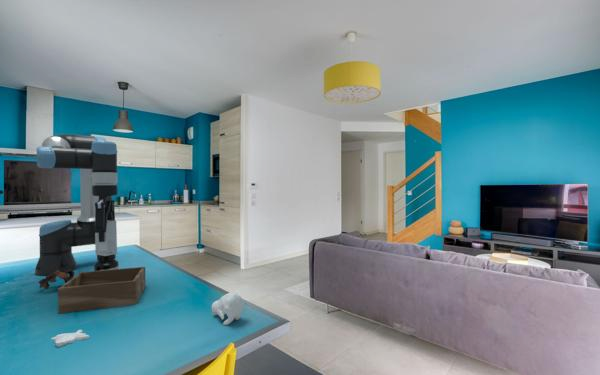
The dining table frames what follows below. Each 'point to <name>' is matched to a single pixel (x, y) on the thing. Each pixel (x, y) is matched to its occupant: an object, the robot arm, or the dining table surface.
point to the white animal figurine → (228, 307)
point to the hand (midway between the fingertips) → (106, 248)
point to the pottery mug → (53, 278)
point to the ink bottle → (106, 263)
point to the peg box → (101, 289)
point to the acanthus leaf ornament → (69, 338)
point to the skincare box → (108, 239)
